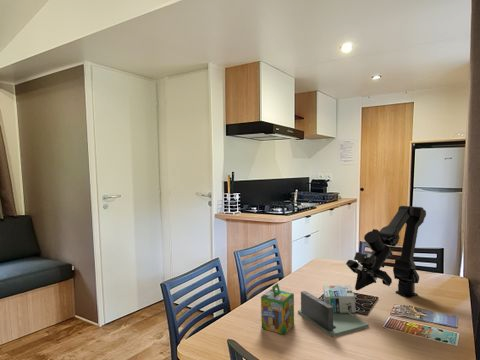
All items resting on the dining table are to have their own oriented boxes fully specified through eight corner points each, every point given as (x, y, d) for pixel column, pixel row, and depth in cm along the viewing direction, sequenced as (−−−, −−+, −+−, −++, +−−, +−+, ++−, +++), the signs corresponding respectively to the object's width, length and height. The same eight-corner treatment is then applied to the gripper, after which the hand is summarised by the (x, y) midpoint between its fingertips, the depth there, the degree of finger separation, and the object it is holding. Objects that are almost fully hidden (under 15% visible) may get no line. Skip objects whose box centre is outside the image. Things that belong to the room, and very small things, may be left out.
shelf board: (331, 305, 131) (331, 302, 131) (368, 327, 113) (368, 324, 113) (298, 312, 125) (298, 310, 125) (332, 337, 106) (332, 334, 106)
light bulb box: (355, 295, 119) (325, 296, 121) (356, 313, 120) (326, 313, 122) (349, 284, 130) (322, 284, 132) (351, 300, 130) (323, 300, 132)
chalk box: (284, 335, 108) (284, 292, 107) (260, 329, 113) (260, 287, 112) (295, 324, 116) (294, 283, 115) (272, 318, 120) (271, 279, 120)
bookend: (309, 310, 124) (309, 290, 124) (337, 329, 110) (337, 305, 109) (301, 312, 123) (300, 291, 122) (328, 331, 108) (328, 308, 108)
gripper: (349, 240, 133) (328, 270, 129) (386, 250, 116) (363, 284, 112) (363, 256, 137) (343, 286, 133) (401, 268, 120) (379, 303, 115)
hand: (356, 289), depth 123 cm, fingers closed
